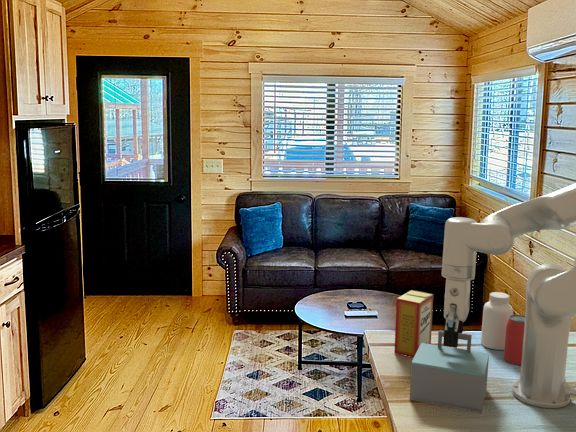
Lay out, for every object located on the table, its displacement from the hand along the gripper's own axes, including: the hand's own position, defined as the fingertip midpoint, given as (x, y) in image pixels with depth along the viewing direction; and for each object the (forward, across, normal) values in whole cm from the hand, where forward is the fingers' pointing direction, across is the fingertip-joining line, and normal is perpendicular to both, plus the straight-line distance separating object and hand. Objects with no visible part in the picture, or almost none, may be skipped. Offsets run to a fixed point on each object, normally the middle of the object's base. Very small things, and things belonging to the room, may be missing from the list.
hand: (453, 339), depth 146 cm
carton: (+12, -5, 0) cm, 13 cm away
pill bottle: (+12, +31, -8) cm, 34 cm away
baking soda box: (+12, +18, +12) cm, 25 cm away
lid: (+3, -5, 0) cm, 6 cm away
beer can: (+12, +22, -14) cm, 29 cm away
